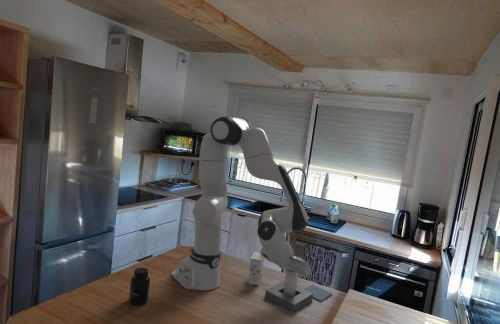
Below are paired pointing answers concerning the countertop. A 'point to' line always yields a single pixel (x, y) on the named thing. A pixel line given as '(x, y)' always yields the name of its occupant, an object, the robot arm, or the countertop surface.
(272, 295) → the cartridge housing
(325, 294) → the rubber mat
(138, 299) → the supplement bottle
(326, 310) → the countertop surface
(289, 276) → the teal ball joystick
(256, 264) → the ink cartridge box
